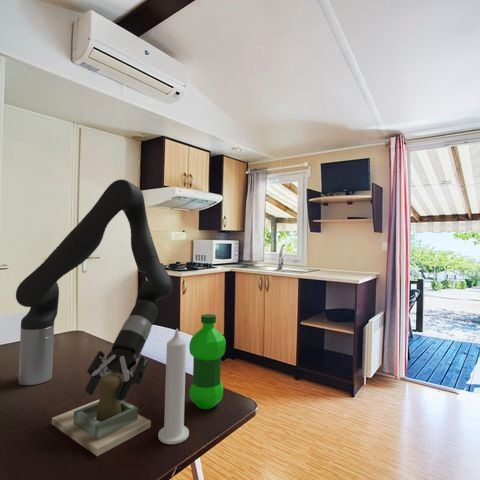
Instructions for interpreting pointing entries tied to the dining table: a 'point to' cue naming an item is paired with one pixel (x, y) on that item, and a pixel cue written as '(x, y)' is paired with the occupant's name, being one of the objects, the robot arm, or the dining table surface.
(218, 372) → the plastic bottle
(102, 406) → the cork
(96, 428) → the board
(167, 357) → the candle
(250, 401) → the dining table surface
